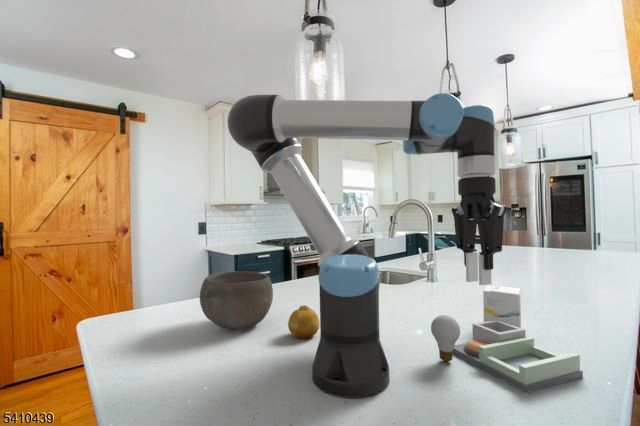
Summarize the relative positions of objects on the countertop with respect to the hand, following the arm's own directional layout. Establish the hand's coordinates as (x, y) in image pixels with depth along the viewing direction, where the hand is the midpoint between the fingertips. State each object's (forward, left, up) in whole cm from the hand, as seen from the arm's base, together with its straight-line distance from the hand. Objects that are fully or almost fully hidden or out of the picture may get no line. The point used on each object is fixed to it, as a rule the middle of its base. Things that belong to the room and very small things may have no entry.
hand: (478, 282), depth 72 cm
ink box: (+18, +9, -17) cm, 26 cm away
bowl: (-48, +42, -17) cm, 67 cm away
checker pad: (0, 0, -15) cm, 15 cm away
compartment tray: (+4, -5, -17) cm, 17 cm away
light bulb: (-8, +1, -17) cm, 19 cm away
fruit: (-32, +27, -17) cm, 46 cm away
